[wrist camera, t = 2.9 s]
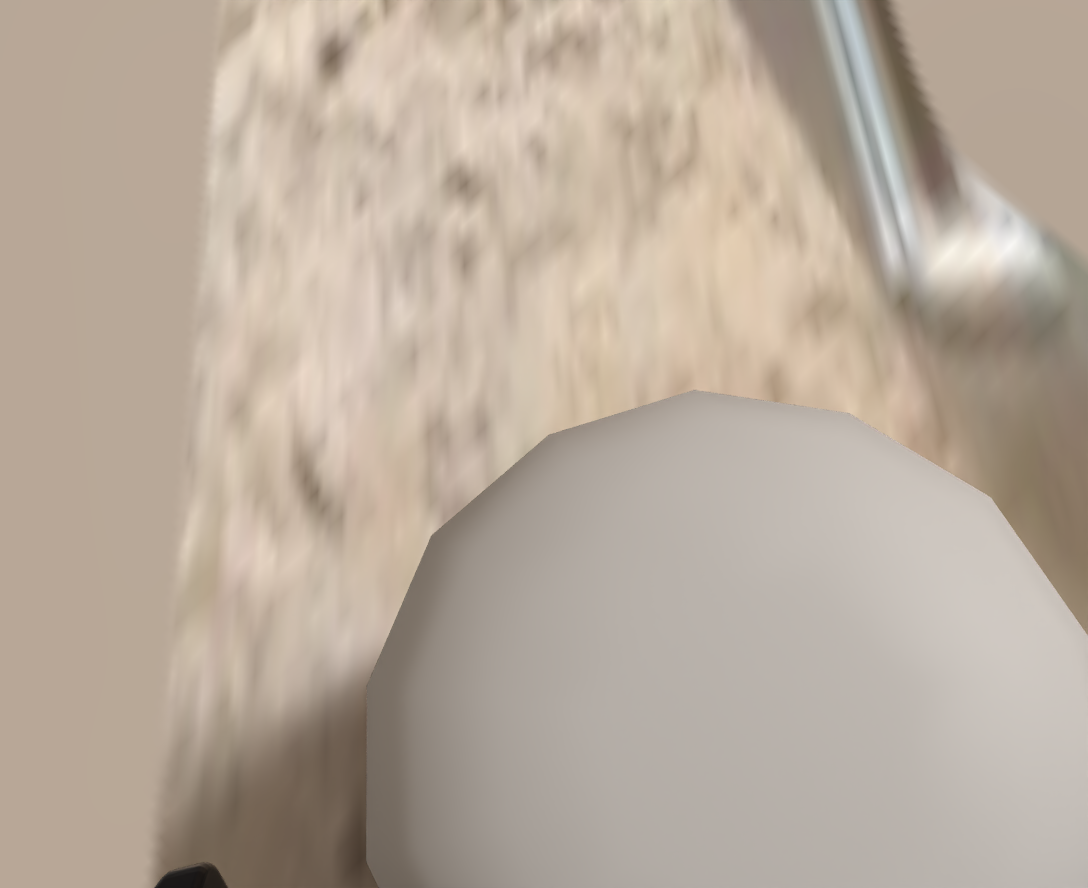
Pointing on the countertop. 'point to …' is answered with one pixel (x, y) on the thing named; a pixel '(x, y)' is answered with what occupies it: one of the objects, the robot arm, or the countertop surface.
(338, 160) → the countertop surface
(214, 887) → the robot arm
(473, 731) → the salt shaker
